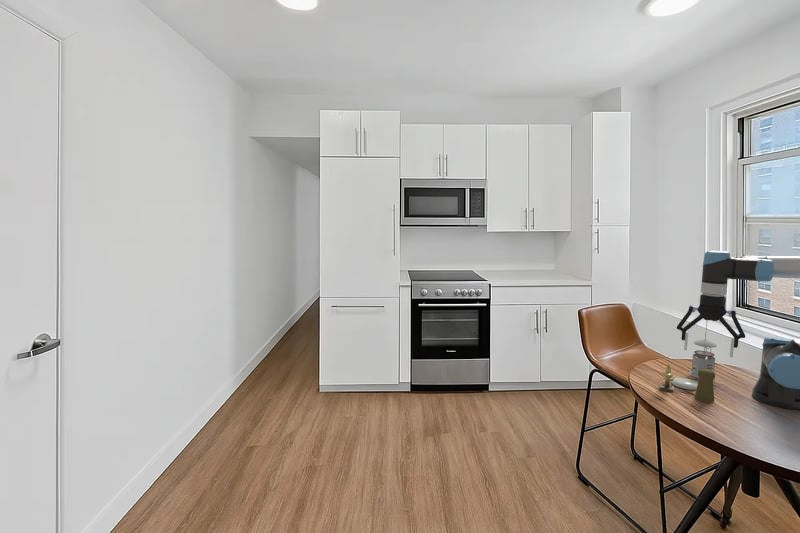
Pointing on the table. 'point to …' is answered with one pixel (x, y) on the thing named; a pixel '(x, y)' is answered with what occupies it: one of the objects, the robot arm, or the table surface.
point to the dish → (685, 383)
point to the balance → (667, 379)
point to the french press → (703, 357)
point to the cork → (705, 386)
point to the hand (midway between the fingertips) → (707, 352)
